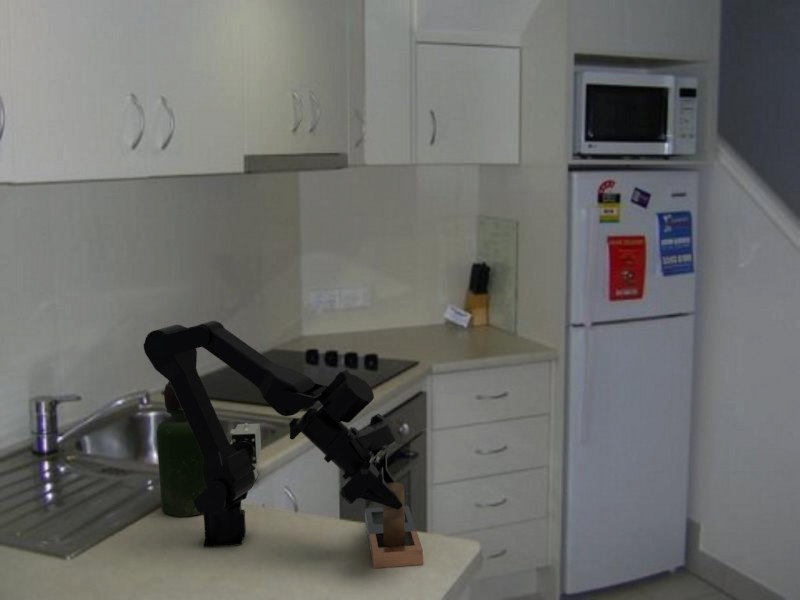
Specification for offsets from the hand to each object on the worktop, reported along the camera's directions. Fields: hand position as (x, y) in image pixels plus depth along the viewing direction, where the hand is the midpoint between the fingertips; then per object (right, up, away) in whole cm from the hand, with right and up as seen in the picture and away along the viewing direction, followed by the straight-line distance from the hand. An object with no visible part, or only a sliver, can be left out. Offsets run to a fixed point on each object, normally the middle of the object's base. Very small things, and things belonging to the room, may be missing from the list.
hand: (401, 503), depth 151 cm
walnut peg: (-1, -7, +1) cm, 7 cm away
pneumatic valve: (-32, -4, +41) cm, 52 cm away
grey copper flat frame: (-2, -8, +6) cm, 10 cm away
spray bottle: (-41, -7, +25) cm, 48 cm away
